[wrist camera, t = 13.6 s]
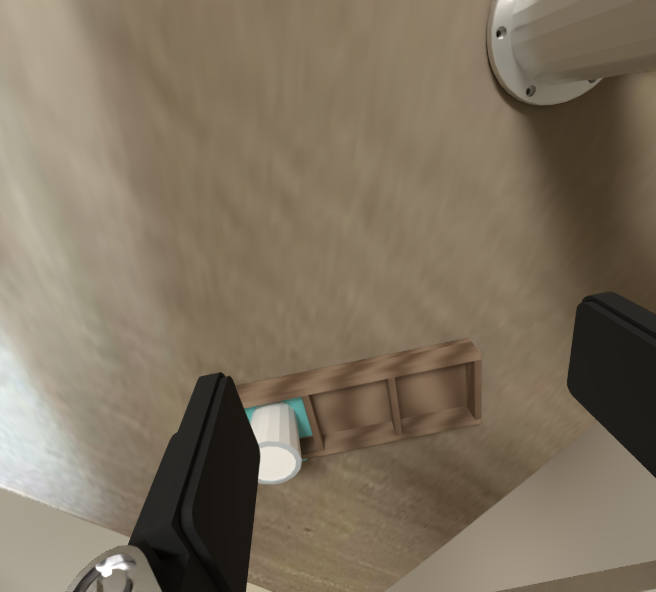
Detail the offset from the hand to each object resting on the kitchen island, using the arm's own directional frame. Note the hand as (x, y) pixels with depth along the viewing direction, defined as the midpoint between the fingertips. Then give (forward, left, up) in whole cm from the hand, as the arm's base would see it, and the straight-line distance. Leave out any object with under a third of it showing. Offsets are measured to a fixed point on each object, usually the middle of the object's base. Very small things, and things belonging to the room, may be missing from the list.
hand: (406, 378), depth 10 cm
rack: (+2, +26, -28) cm, 38 cm away
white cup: (+12, +26, -28) cm, 40 cm away
